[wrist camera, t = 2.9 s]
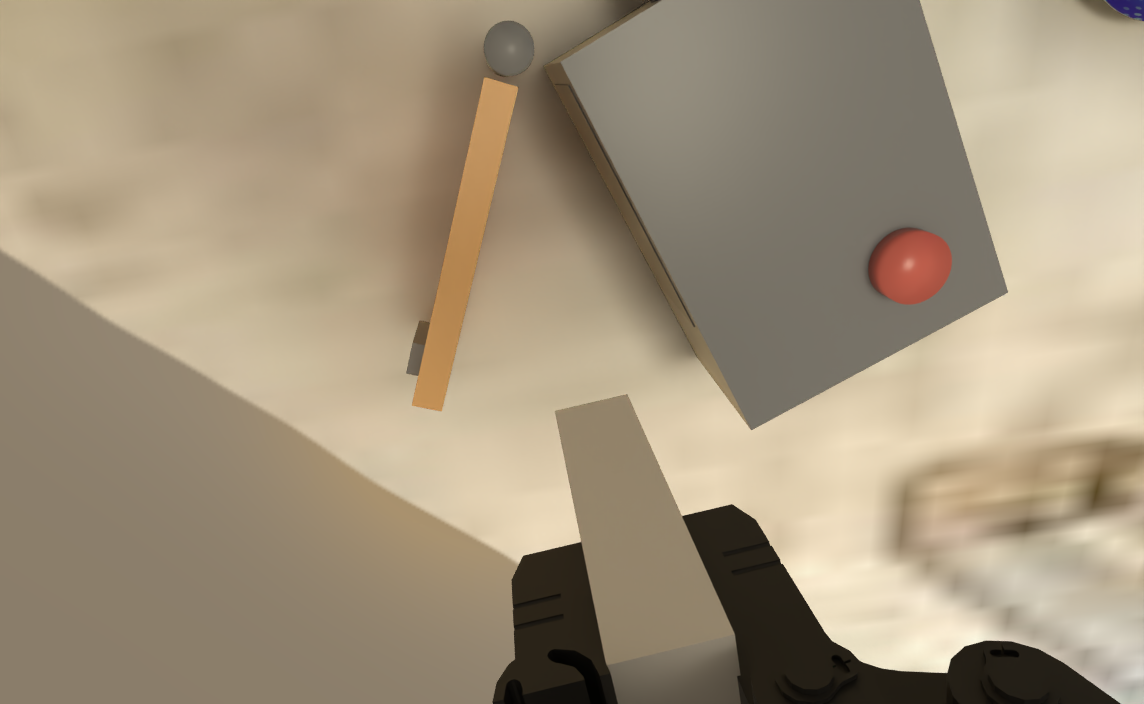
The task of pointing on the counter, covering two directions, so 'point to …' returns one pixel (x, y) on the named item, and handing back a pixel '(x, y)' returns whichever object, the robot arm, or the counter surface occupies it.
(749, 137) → the camera body
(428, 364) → the side door
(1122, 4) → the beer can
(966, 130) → the counter surface
